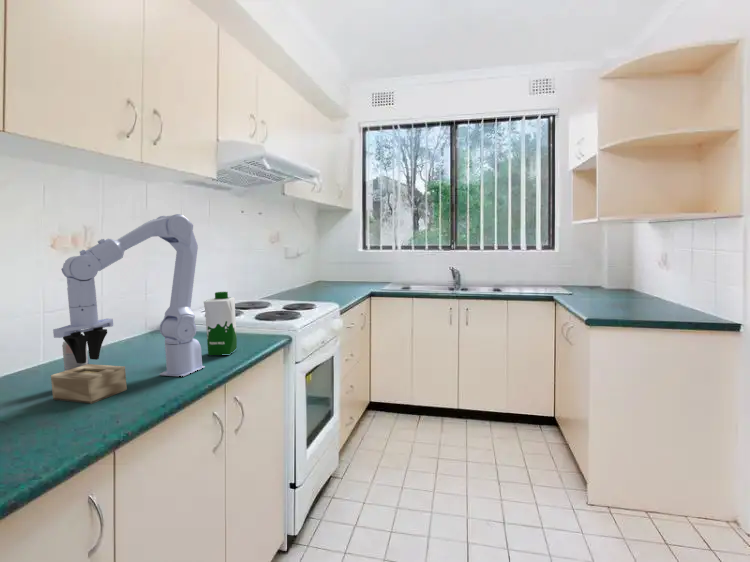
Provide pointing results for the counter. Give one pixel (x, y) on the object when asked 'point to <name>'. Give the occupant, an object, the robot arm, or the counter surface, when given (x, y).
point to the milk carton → (220, 324)
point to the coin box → (88, 383)
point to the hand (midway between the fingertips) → (88, 361)
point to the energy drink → (71, 357)
